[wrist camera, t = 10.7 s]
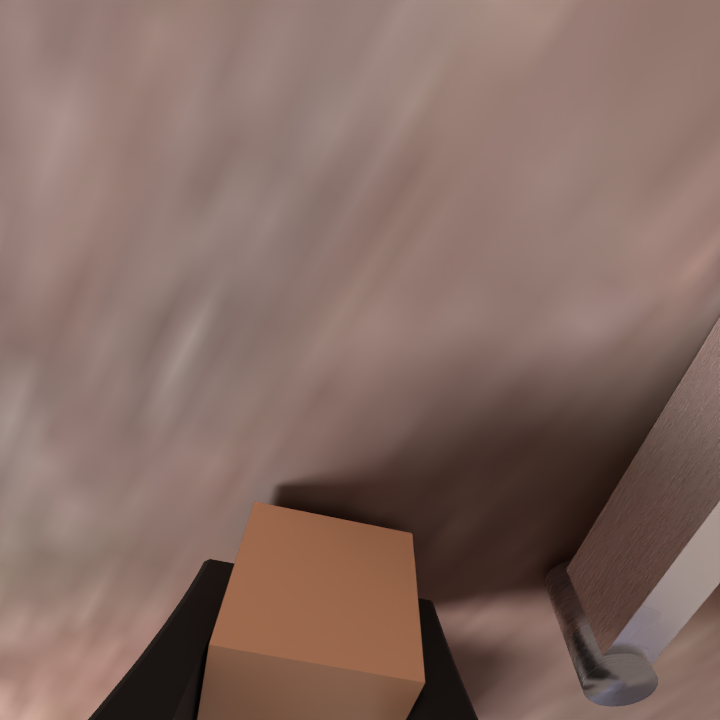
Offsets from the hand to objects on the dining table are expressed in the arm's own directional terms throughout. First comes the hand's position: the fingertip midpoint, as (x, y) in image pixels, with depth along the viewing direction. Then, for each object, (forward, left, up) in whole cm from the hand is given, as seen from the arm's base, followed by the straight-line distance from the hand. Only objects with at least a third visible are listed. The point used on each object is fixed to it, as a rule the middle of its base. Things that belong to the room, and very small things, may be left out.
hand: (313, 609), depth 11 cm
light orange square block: (0, 0, -1) cm, 1 cm away
